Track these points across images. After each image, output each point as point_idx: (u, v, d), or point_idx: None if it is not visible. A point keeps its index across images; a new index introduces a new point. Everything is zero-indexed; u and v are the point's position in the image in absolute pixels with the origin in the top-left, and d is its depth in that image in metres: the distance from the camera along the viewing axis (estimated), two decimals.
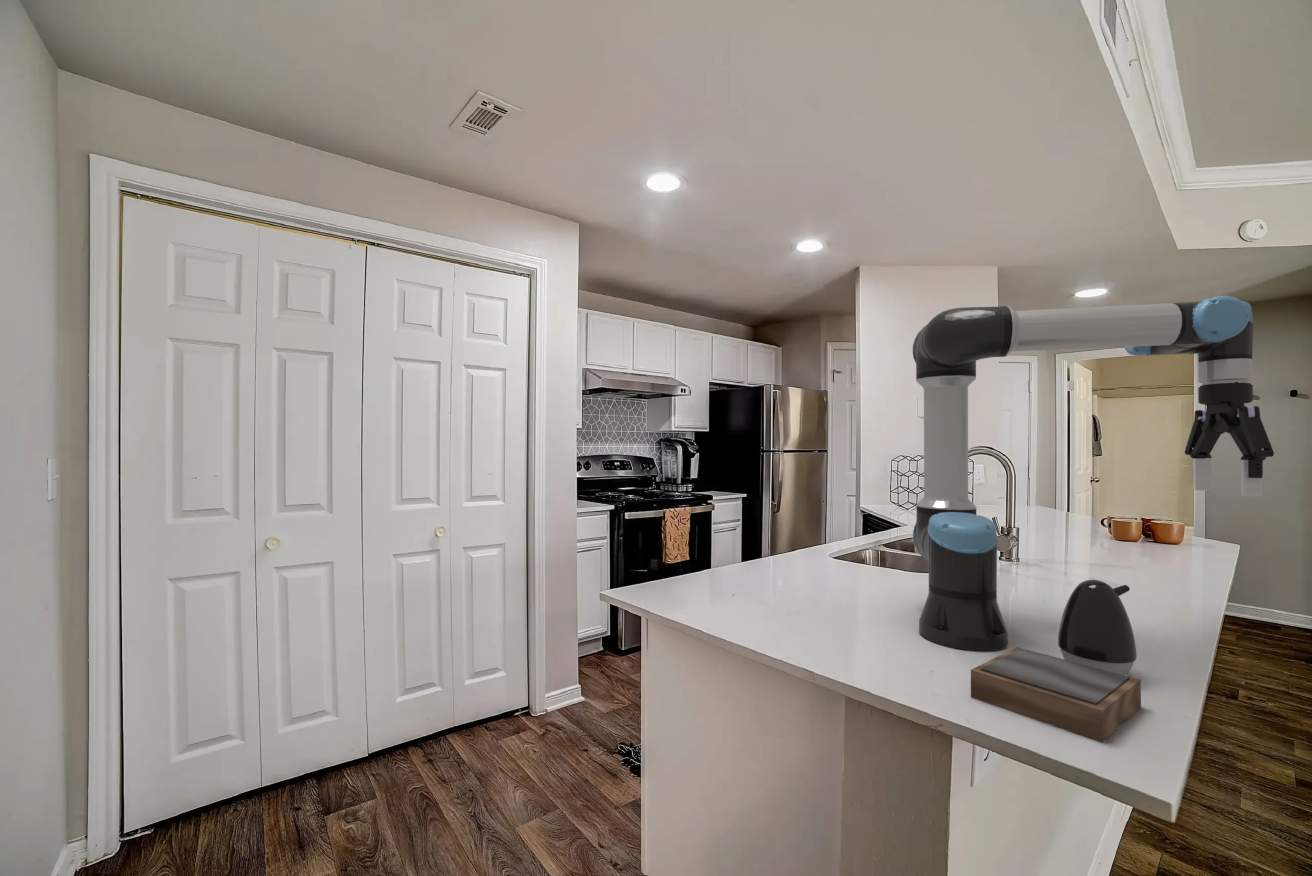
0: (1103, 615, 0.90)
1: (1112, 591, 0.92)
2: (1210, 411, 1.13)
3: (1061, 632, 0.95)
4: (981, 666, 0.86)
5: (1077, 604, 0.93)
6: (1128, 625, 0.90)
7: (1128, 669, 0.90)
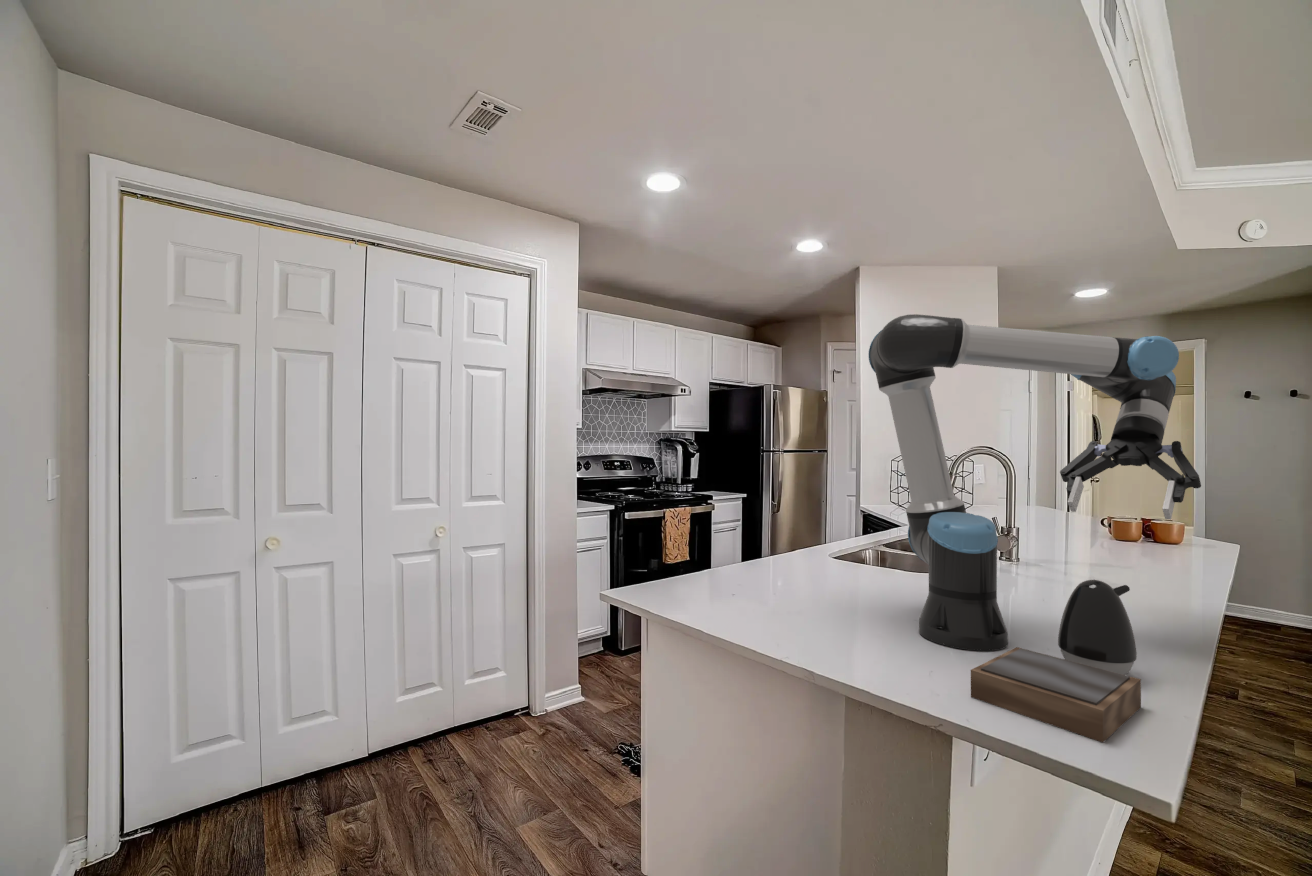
0: (1103, 615, 0.90)
1: (1112, 591, 0.92)
2: (1118, 443, 1.11)
3: (1062, 632, 0.95)
4: (981, 666, 0.86)
5: (1077, 604, 0.93)
6: (1128, 625, 0.90)
7: (1128, 669, 0.90)
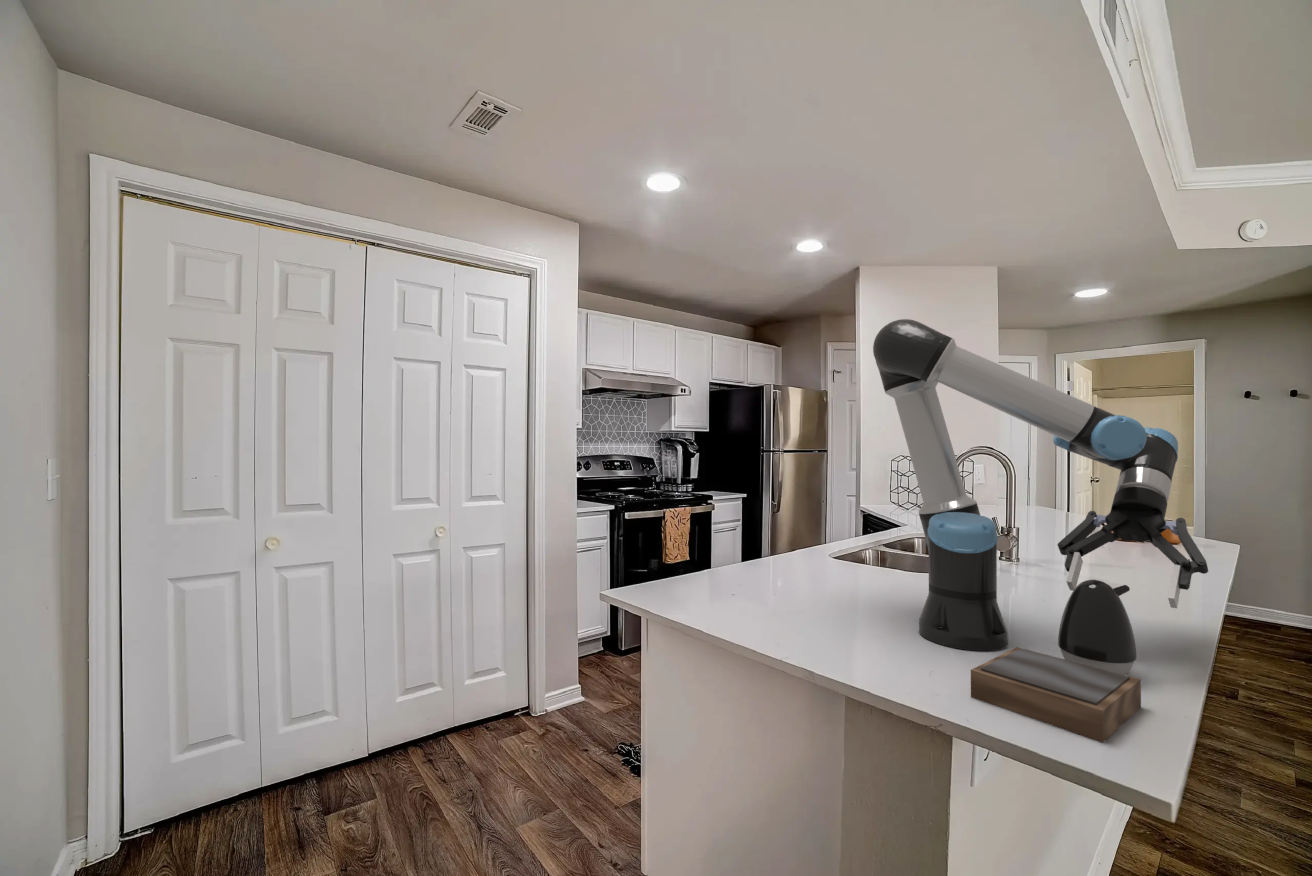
0: (1103, 615, 0.90)
1: (1112, 591, 0.92)
2: (1119, 515, 1.05)
3: (1062, 632, 0.95)
4: (981, 666, 0.86)
5: (1077, 604, 0.93)
6: (1128, 625, 0.90)
7: (1128, 669, 0.90)
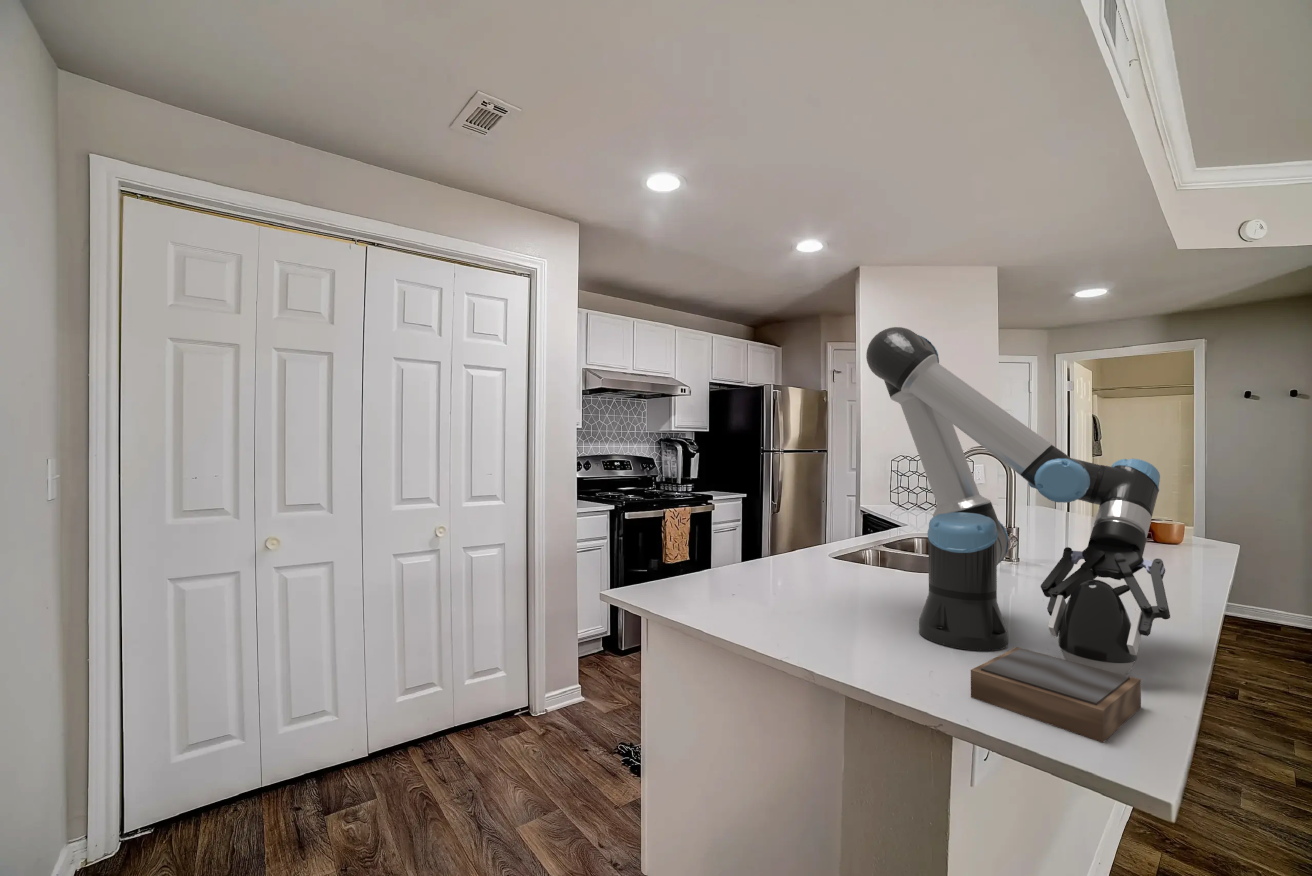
0: (1104, 615, 0.90)
1: (1112, 591, 0.92)
2: (1095, 549, 1.01)
3: (1062, 632, 0.95)
4: (981, 666, 0.86)
5: (1077, 604, 0.93)
6: (1129, 625, 0.90)
7: (1128, 669, 0.90)
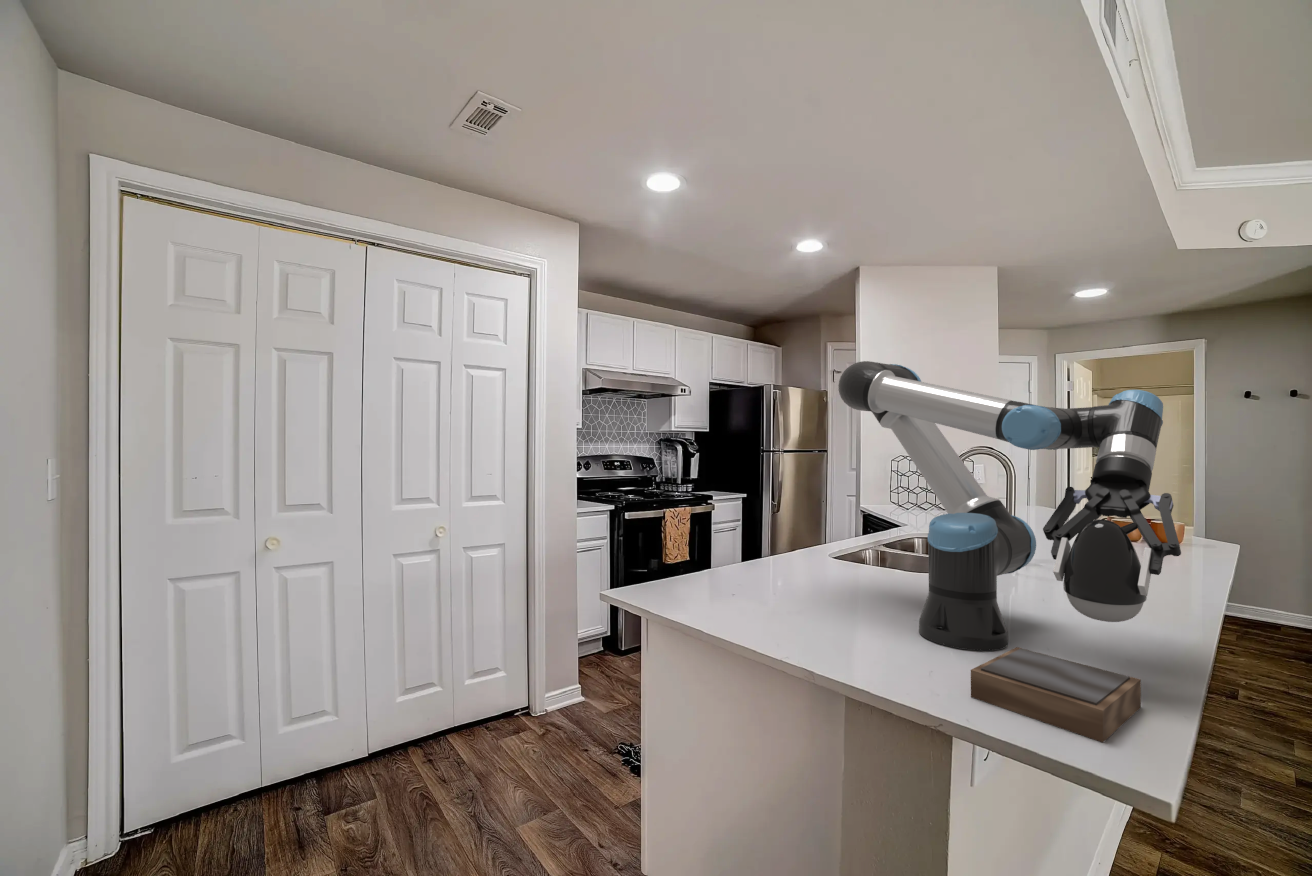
0: (1113, 556, 0.85)
1: (1121, 530, 0.86)
2: (1099, 487, 0.95)
3: (1068, 576, 0.90)
4: (981, 666, 0.86)
5: (1084, 546, 0.88)
6: (1138, 565, 0.85)
7: (1138, 610, 0.85)
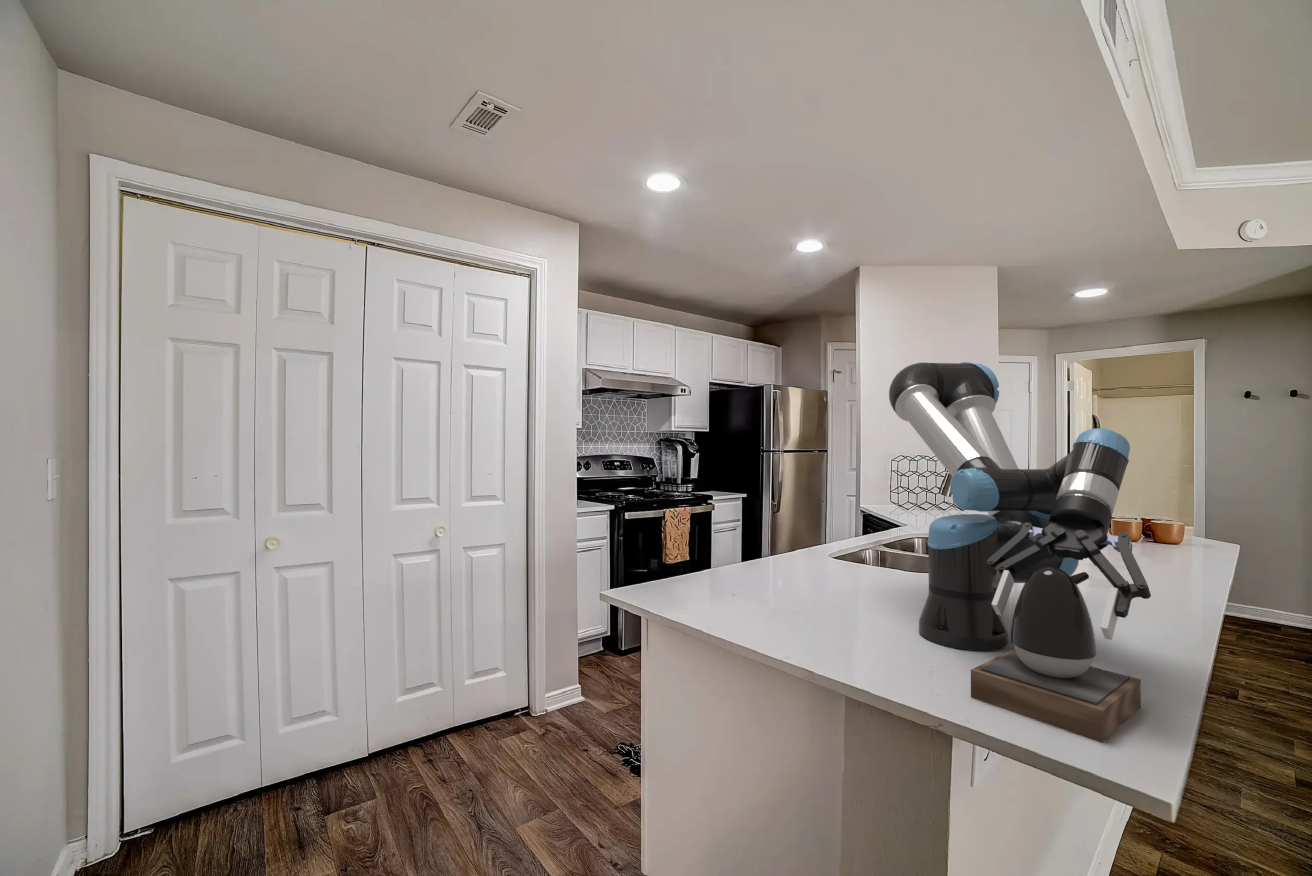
0: (1058, 605, 0.80)
1: (1069, 578, 0.81)
2: (1056, 528, 0.90)
3: (1014, 625, 0.85)
4: (981, 666, 0.86)
5: (1031, 593, 0.83)
6: (1087, 617, 0.80)
7: (1086, 666, 0.79)
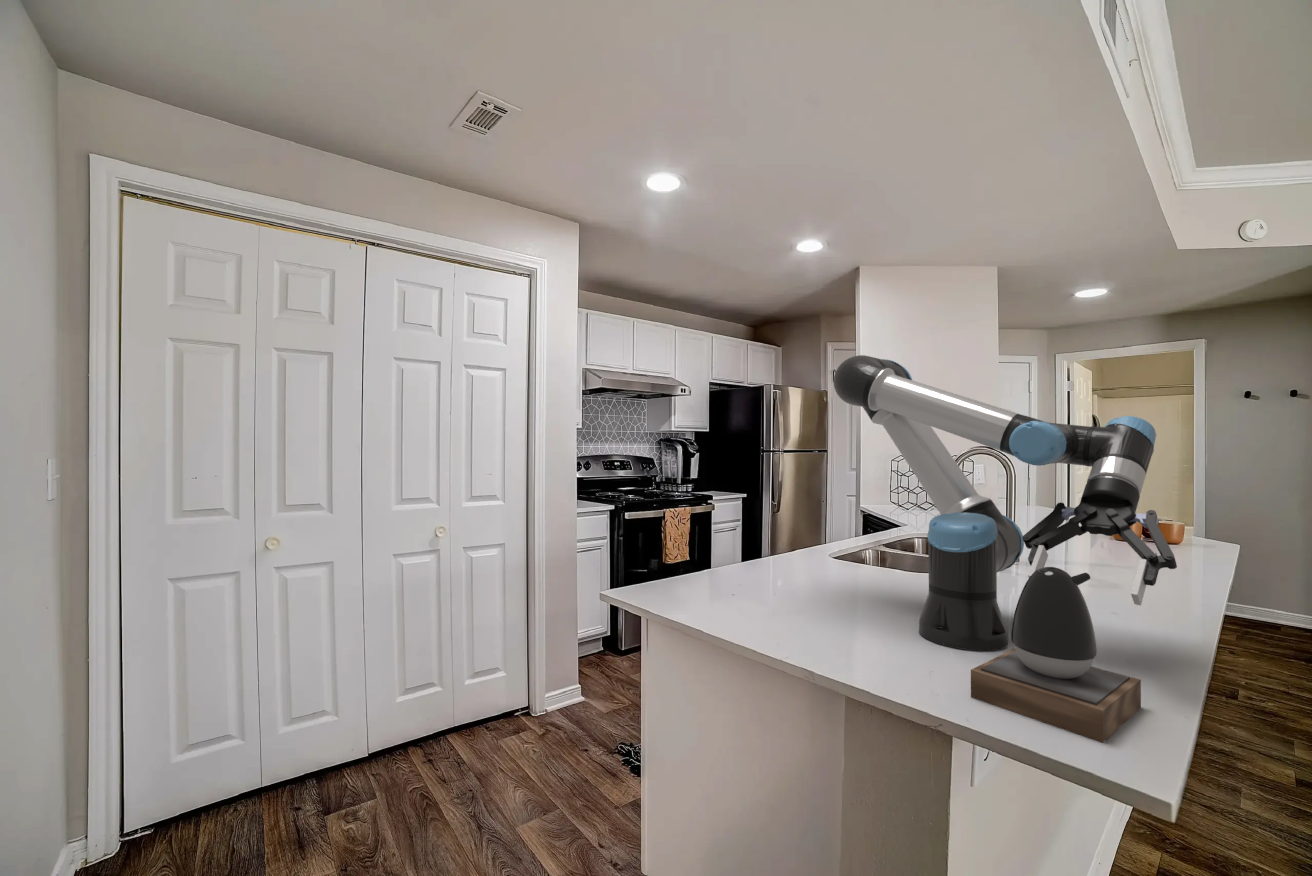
0: (1059, 606, 0.80)
1: (1070, 579, 0.81)
2: (1087, 507, 0.98)
3: (1014, 626, 0.84)
4: (981, 666, 0.86)
5: (1031, 594, 0.83)
6: (1087, 618, 0.80)
7: (1086, 667, 0.79)
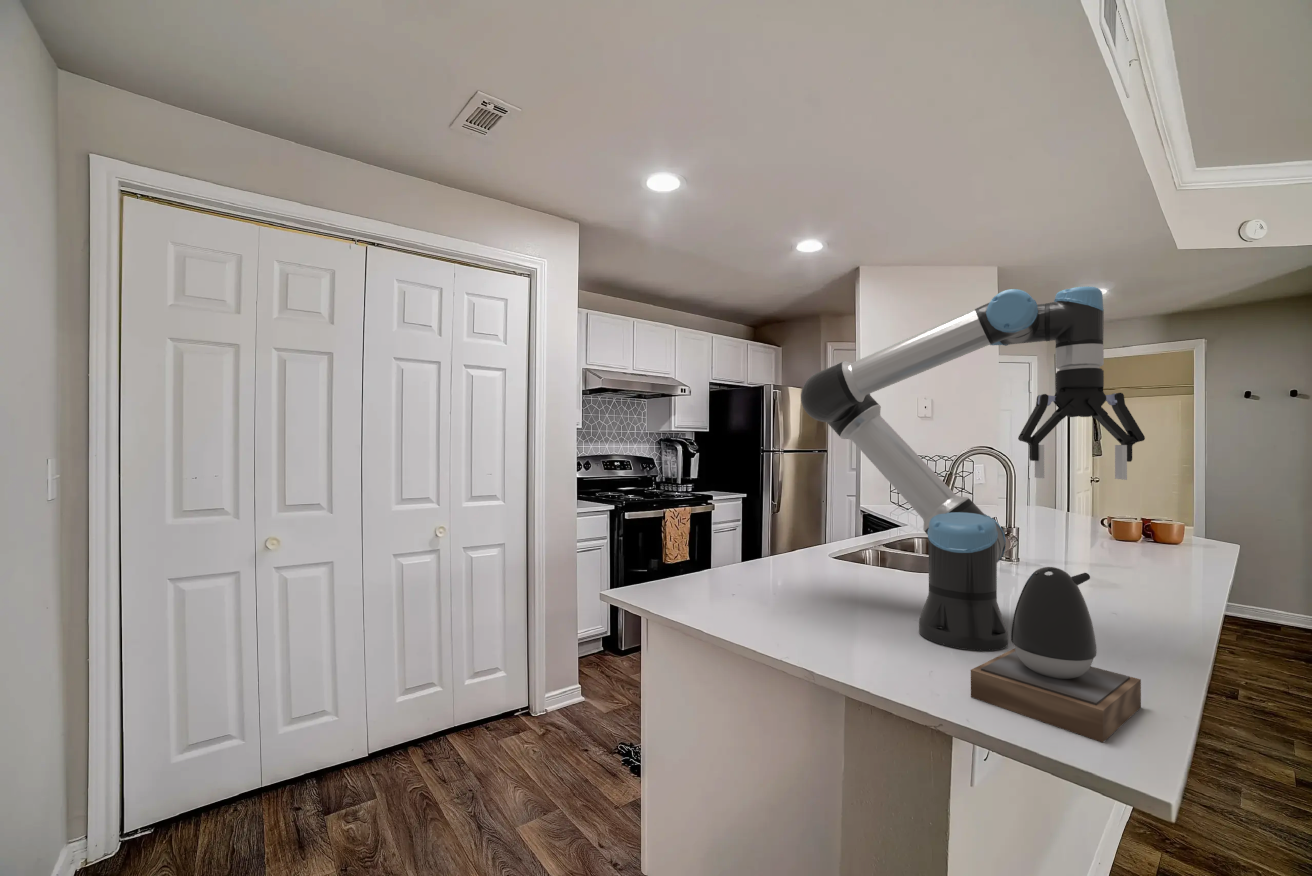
0: (1059, 606, 0.80)
1: (1069, 579, 0.81)
2: (1068, 396, 1.11)
3: (1014, 626, 0.84)
4: (981, 666, 0.86)
5: (1031, 594, 0.83)
6: (1087, 618, 0.80)
7: (1086, 667, 0.79)
